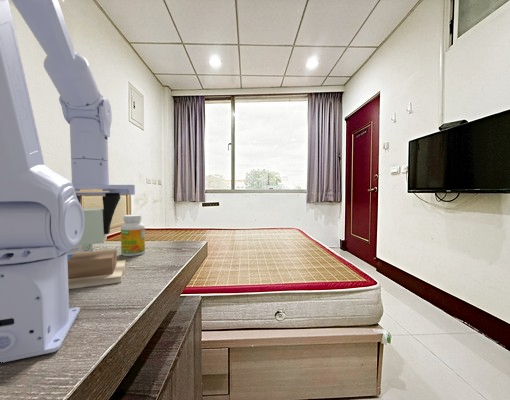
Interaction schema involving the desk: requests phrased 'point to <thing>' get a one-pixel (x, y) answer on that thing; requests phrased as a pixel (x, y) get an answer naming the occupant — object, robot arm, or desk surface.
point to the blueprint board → (99, 278)
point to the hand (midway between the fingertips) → (92, 234)
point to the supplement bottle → (132, 236)
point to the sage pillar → (93, 227)
